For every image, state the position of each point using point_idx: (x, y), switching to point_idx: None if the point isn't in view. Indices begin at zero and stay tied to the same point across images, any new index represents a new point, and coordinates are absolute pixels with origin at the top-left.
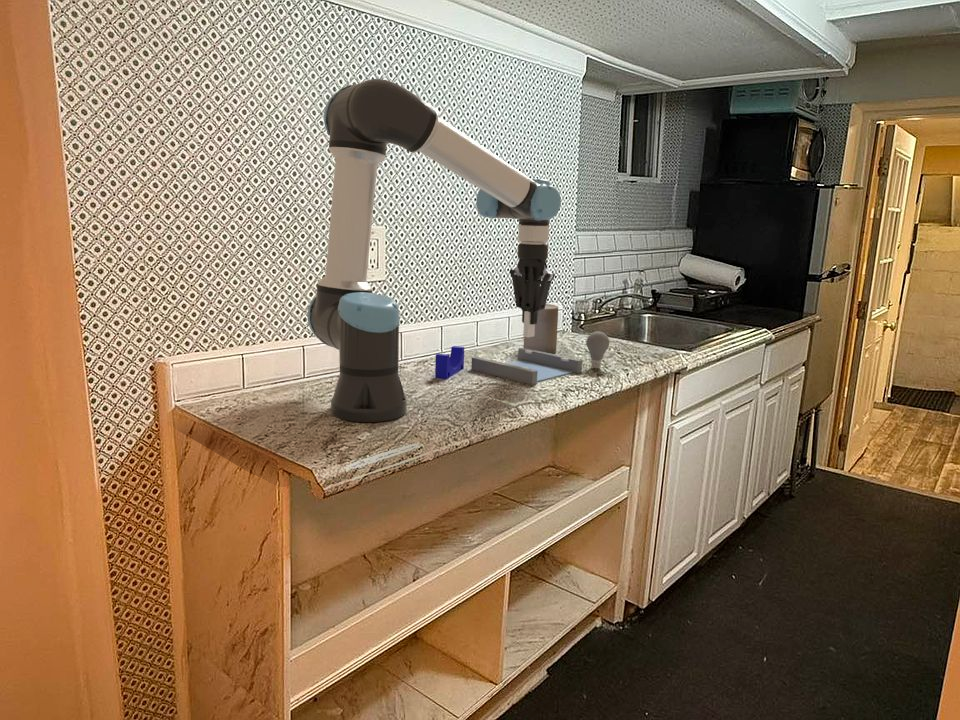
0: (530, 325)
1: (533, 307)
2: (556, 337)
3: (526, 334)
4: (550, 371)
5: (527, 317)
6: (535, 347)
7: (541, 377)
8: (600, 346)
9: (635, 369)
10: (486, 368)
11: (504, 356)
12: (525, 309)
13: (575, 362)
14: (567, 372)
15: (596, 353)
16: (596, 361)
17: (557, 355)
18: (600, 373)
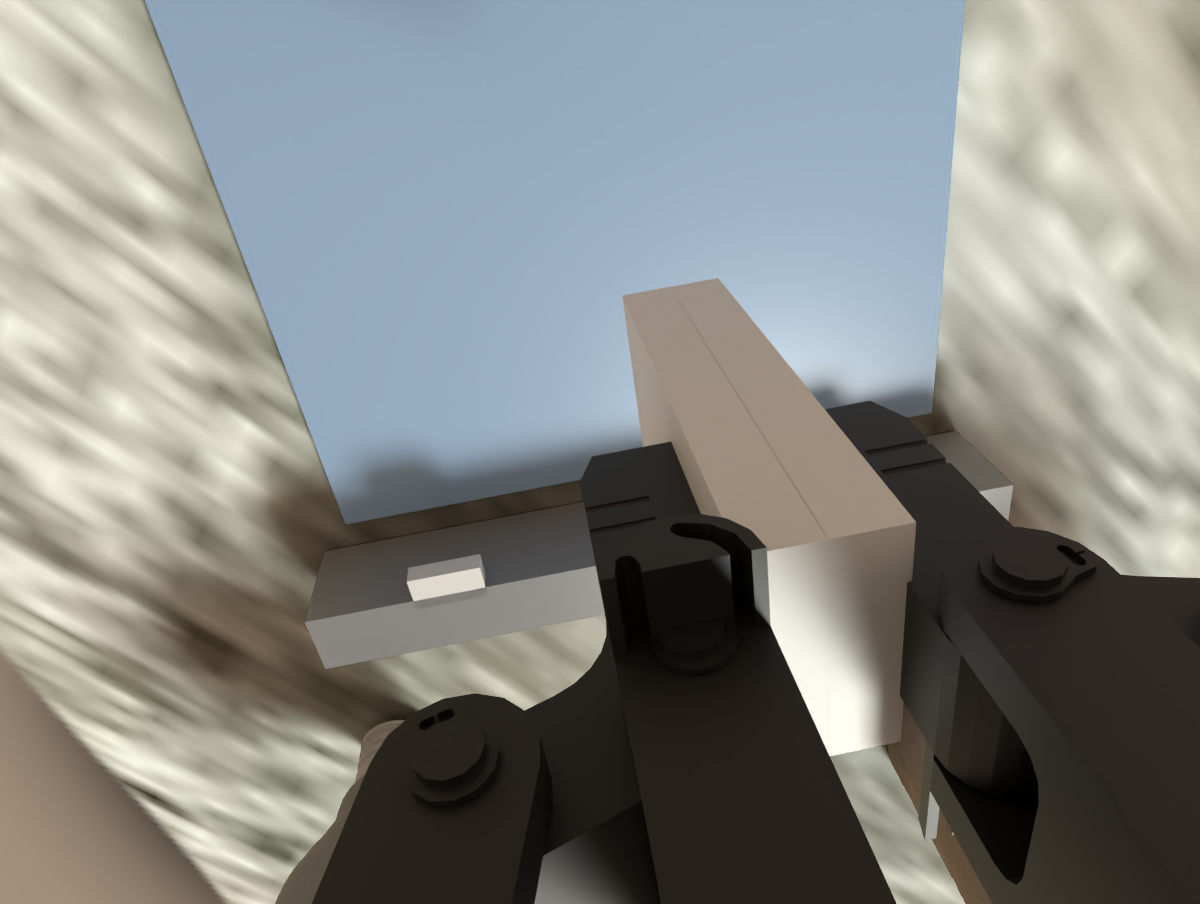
0: (667, 440)
1: (624, 730)
2: (947, 867)
3: (662, 306)
4: (438, 375)
5: (741, 460)
6: None
7: (256, 121)
8: (282, 892)
9: (265, 894)
10: None
11: (1114, 411)
12: (941, 596)
13: (338, 602)
14: (341, 478)
15: (339, 821)
16: (365, 770)
17: (581, 601)
18: (248, 679)
